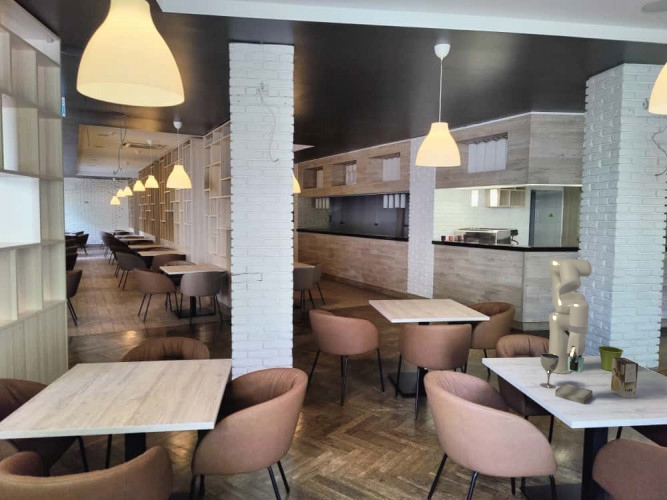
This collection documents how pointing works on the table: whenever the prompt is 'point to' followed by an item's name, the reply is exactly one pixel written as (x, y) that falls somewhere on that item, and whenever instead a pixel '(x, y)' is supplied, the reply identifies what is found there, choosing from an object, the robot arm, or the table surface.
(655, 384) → the table surface
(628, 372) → the coffee box
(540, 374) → the table surface
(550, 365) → the wine glass
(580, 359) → the teal block
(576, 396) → the base block
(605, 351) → the plant pot
